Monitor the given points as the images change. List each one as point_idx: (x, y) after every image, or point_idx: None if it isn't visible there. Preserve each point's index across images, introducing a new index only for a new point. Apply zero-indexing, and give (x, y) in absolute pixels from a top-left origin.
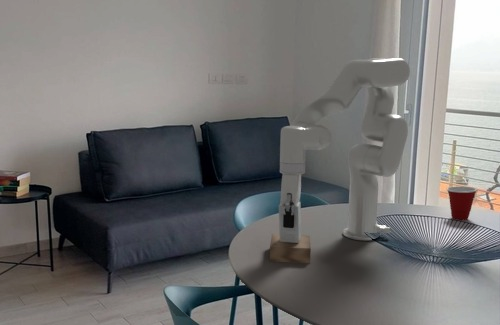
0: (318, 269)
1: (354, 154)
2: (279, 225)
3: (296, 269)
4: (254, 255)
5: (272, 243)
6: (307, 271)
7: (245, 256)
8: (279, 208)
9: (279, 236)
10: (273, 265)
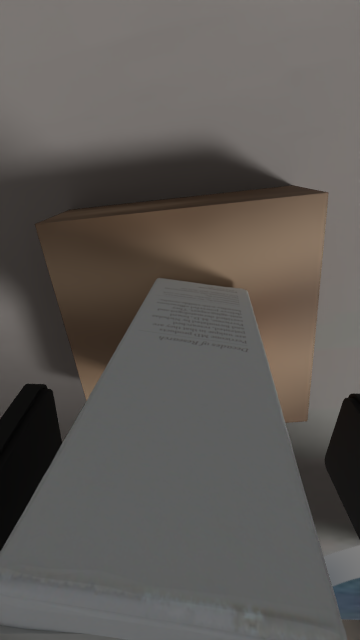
0: (57, 416)
1: None
2: (128, 328)
3: (20, 344)
4: (135, 91)
5: (109, 231)
6: (19, 384)
7: (99, 21)
8: (27, 505)
9: (274, 258)
10: (22, 239)
